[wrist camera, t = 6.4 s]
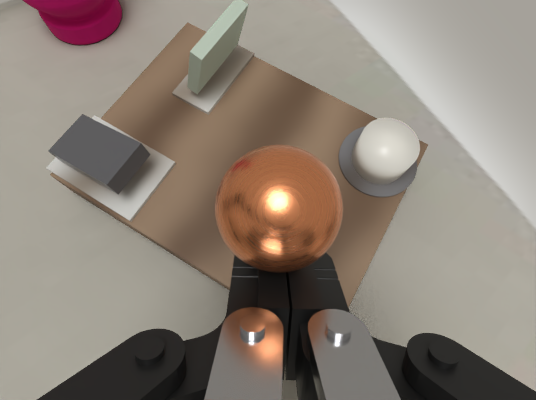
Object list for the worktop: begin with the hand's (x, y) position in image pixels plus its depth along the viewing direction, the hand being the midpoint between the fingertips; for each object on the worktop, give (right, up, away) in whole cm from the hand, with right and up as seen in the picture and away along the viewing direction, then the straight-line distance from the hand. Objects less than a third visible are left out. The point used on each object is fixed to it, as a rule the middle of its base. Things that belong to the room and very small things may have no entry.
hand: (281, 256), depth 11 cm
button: (+7, +4, +12) cm, 14 cm away
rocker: (-10, +4, +10) cm, 15 cm away
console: (-2, +4, +14) cm, 15 cm away
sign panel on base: (-4, +11, +13) cm, 18 cm away
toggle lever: (-1, +2, +9) cm, 9 cm away
